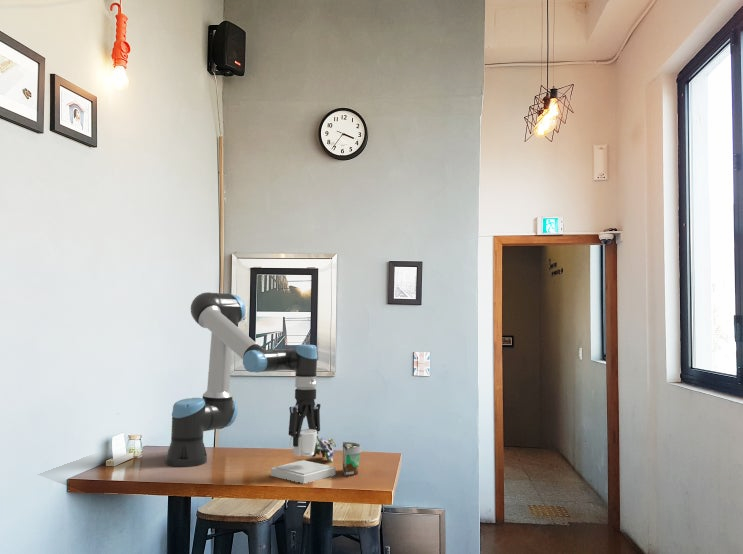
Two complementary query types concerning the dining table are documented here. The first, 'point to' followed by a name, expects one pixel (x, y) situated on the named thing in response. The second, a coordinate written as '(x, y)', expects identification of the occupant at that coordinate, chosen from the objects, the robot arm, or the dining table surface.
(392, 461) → the dining table surface
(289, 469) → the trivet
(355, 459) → the food container
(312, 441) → the cup
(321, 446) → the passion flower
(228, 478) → the dining table surface
